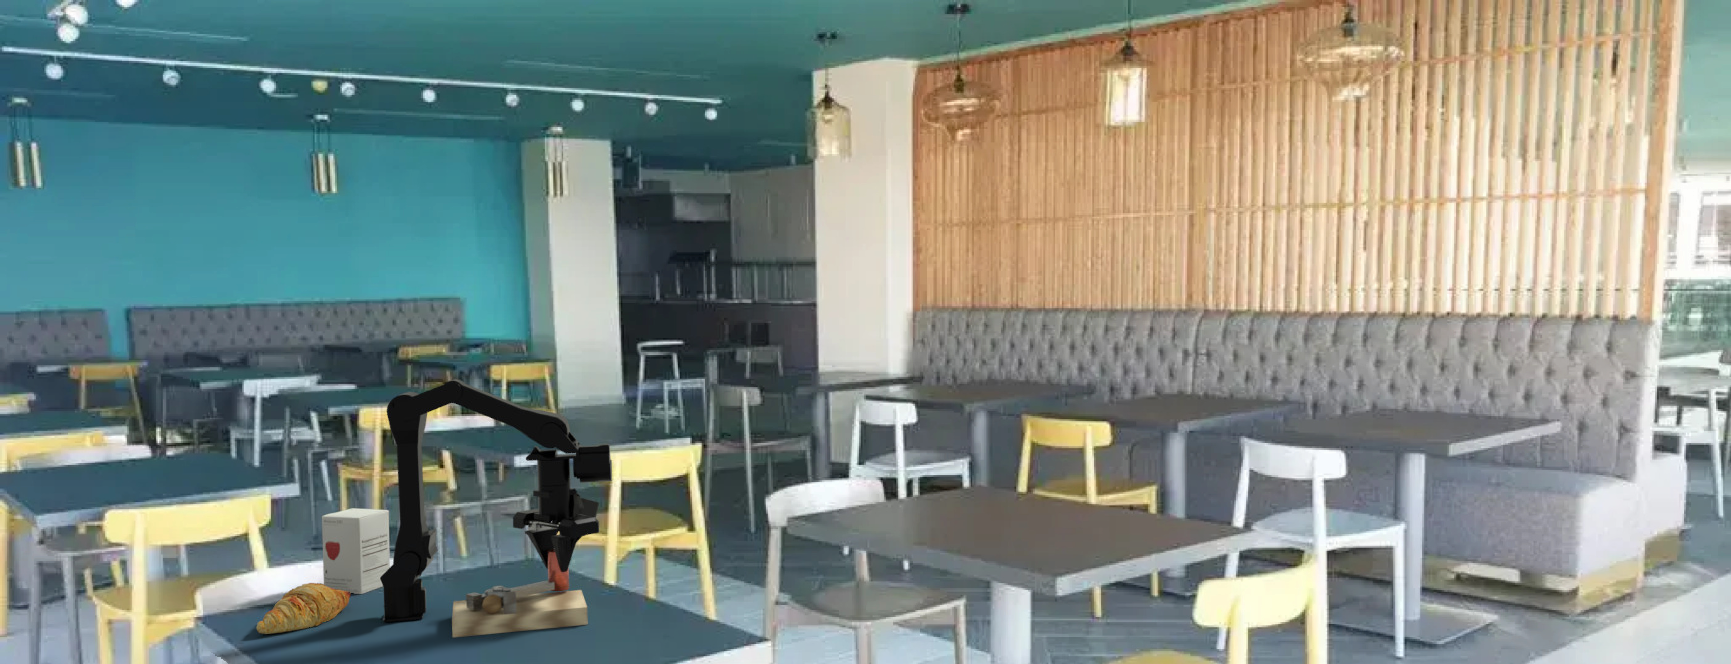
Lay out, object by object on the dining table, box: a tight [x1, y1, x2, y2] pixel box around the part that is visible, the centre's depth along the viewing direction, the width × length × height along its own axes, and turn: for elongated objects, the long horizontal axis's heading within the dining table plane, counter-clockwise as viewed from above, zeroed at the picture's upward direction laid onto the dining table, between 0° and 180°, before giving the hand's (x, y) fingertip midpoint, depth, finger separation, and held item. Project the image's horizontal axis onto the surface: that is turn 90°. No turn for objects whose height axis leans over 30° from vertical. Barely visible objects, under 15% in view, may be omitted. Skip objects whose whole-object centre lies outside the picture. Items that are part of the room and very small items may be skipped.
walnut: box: [483, 594, 502, 614], centre depth 207 cm, size 3×3×3 cm
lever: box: [465, 549, 570, 610], centre depth 215 cm, size 19×4×7 cm, turn 136°
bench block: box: [451, 589, 589, 638], centre depth 213 cm, size 22×13×6 cm, turn 108°
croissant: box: [256, 582, 352, 635], centre depth 215 cm, size 21×10×8 cm, turn 163°
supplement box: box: [321, 507, 391, 595], centre depth 240 cm, size 9×9×15 cm
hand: (556, 570), depth 221 cm, fingers open, 4 cm apart
